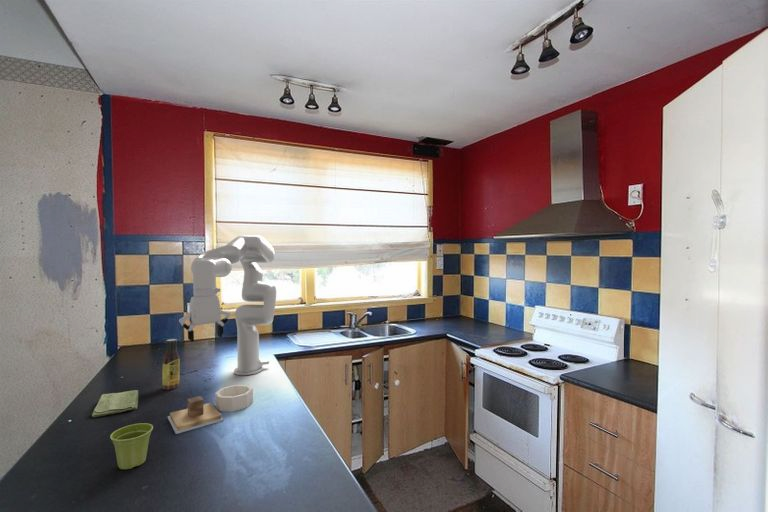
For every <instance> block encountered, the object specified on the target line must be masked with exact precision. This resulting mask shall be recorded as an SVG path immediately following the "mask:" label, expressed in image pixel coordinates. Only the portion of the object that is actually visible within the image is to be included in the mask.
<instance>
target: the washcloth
mask: <svg viewBox="0 0 768 512" xmlns="http://www.w3.org/2000/svg"><path fill="white" fill-rule="evenodd" d="M138 406H139V390H138V389H137V390H135V389H134V390H129V391H128V390H126V391H123V392H112V393H111V392H110V393H103V394H101V396H100V397H99V399H98V401H97V404H96V406H95V407H94V409H93V411H92V413H91V417H92V418H98V417H104V416H107V415H115V414H119V413H122V412H129V411H134V410H137V409H138Z"/></svg>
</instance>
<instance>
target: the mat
mask: <svg viewBox="0 0 768 512" xmlns="http://www.w3.org/2000/svg"><path fill="white" fill-rule="evenodd" d="M167 420H168V421H169V423H170V425H171V428H172V429H173V431H174V434H175V435H178V434H182V433H185V432H188V431H192V430H195V429H199V428H202V427H206V426H209V425H212V424H213V425H214V424H215V423H221V422H222V421H224V418H223V417H222V419H219V420H215V421H211V422H208V423H204V424H201V425H197V426H194V427H190V428H187V429H183V430H179V431H177V429H176V427H175V425H174V423H173V421H172V419H171V417H170V415H169V416H168V415H167Z"/></svg>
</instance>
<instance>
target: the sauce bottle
mask: <svg viewBox="0 0 768 512" xmlns="http://www.w3.org/2000/svg"><path fill="white" fill-rule="evenodd" d="M165 345H166V347H165V348H166V349H165V350H166V351H165V353H164V354H163V356H162V365H161V366H162V367H161V368H162V370H161V374H162V376H161V385H162V390H167V391H168V390H173V389H177V388H178V387H179V386H180V372H181V370H180V368H181V367H180V366H181V365H180V364H181V362H180V361H181V359H180V356H179V353H178V348H177V345H178V339H177V338H169V339H166V340H165Z"/></svg>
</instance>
